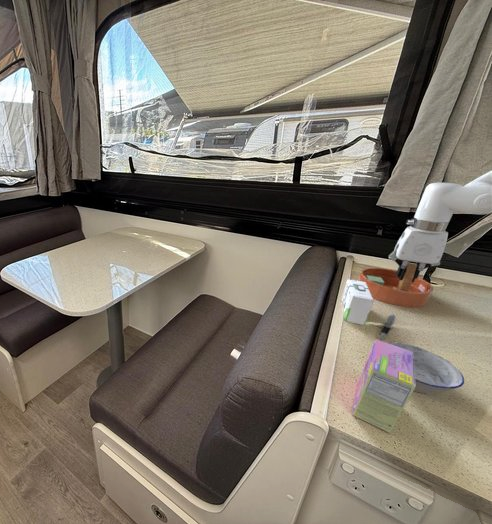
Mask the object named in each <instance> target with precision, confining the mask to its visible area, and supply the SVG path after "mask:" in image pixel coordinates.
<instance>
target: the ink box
mask: <svg viewBox="0 0 492 524" xmlns="http://www.w3.org/2000/svg"><path fill="white" fill-rule="evenodd" d="M341 299H342V301H343V305H344V313H343V317H344V322H348V323H352V324H356V325H360V326H365V325H366V323H367V320H368V319H369V315H370V312H371V309H372V307H373V304H374V302H375V301H374V298H372V295H371V293H370V291H369V289H368V286H367V284H366V282H362V281H358V280H355V279H349V278H348V279H346V283H345V286H344V290H343V292H342V296H341Z"/></svg>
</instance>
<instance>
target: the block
mask: <svg viewBox="0 0 492 524" xmlns="http://www.w3.org/2000/svg"><path fill="white" fill-rule="evenodd" d="M366 278H367V279H369V280H371V281H372V282H374V283H377V284H379V285H382V286H383V285H384V281H383V280H382V278H381V277H374V276H368V275H367V276H366Z"/></svg>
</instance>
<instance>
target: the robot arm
mask: <svg viewBox="0 0 492 524" xmlns="http://www.w3.org/2000/svg"><path fill="white" fill-rule="evenodd" d="M455 211H456V212H462V213H467V214H472V215H489V214H492V170H490V171H488V172H486V173H484V174H482V175H480V176H479V177H477V178H475V179H473V180H472V181H470V182H467V184H465V185H462V184H460V183H456V182H455V183H454V182H431V183H429V184H428V185H427V186H426V187H425V189H424V192H423V194H422V196H421V199H420V201H419V203H418V206H417V209H416V211H415V214H414V216H413V217H412V218H411V219H407V220H406V221H405V224H406V225H409V226H407V227H406V228H405V230H404V231H403V232H402V234H401V236H400V237H399V239H398V240H397V243H396V244H395V247H394V250H393V251H392V252H391V253H390V254H389V255H388V256H387V258H388V259H389V260H391V261H393V262H395V263H396V264H397V265H398V268H397V270H396V271H397V272H396V276H397V277H398V279H399V280H403V277H404V275H405V273H406V271H407V270H406V266H407V264H408V263H409V262H411V263H415V264H417V267H416V270H415V273H414V277H413V280H412V282H414V281H415V279H417V278H419V275H420V274H421V272H423V271H424V270H426V269H428V268H430V267H437V266H440V265H441V259H442V257H443V255H444V252H445V248H446V246H447V241H448V236H449V232H448V231H446V229H447V227H448V225H449V223H450V221H451V219H452V217H453V214H454V213H455Z"/></svg>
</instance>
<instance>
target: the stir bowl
mask: <svg viewBox="0 0 492 524" xmlns="http://www.w3.org/2000/svg"><path fill="white" fill-rule="evenodd" d="M396 272H397V270H396V269H390V268H383V267H367V268H363V269H362V270H361V271H360V273H359V275H358V278H357V281H362V282H366V284H367V286H368V289H369V291H370V293H371V295H372V298H373V300H374V299H375V300H377V301H380V302H383V303H386V304H389V305H394V306H399V307H403V308H404V307H406V308H421V307H425V306H426V305H427V304H428V303H429V300H430V298H431V296H432V294H433V292H434V286H433V285H432V284H431V283H430V282H428V281H426V280H425V279H423V278H420V277H418V278H417V279H415V281H414V282H412V283H411V286H410V289H409V290H410V291H411V292H406V291H400V290H396V289H393V287H396V288H398V285H399V282H400V280H399V279H398V277H397V276H396ZM367 275H368V276H374V277H381V278H382V280H383V281H384V285H383V286H382V285H379V284H377V283H374V282H372V281H371V280H369V279H367V278H366V276H367Z"/></svg>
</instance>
